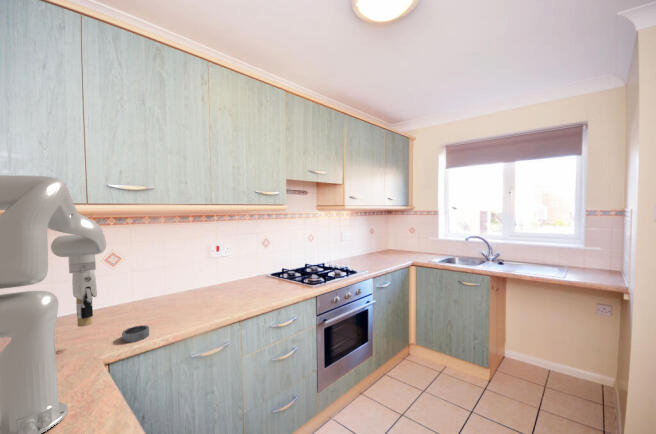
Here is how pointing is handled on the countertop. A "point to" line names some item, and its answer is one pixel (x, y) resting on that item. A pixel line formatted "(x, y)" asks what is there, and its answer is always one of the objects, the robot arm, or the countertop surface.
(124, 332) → the socket collar
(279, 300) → the countertop surface
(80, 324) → the sprinkles bottle
